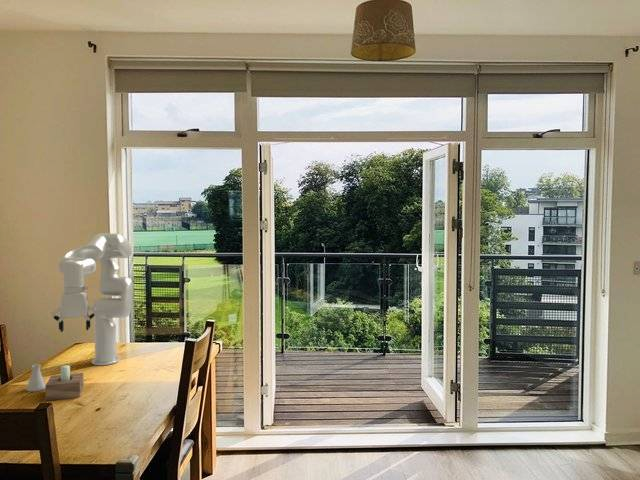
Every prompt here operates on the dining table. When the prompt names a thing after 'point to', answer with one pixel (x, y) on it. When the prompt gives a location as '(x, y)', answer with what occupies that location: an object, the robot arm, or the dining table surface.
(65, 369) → the peg
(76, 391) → the socket block
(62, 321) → the robot arm
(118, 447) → the dining table surface
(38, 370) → the flask
